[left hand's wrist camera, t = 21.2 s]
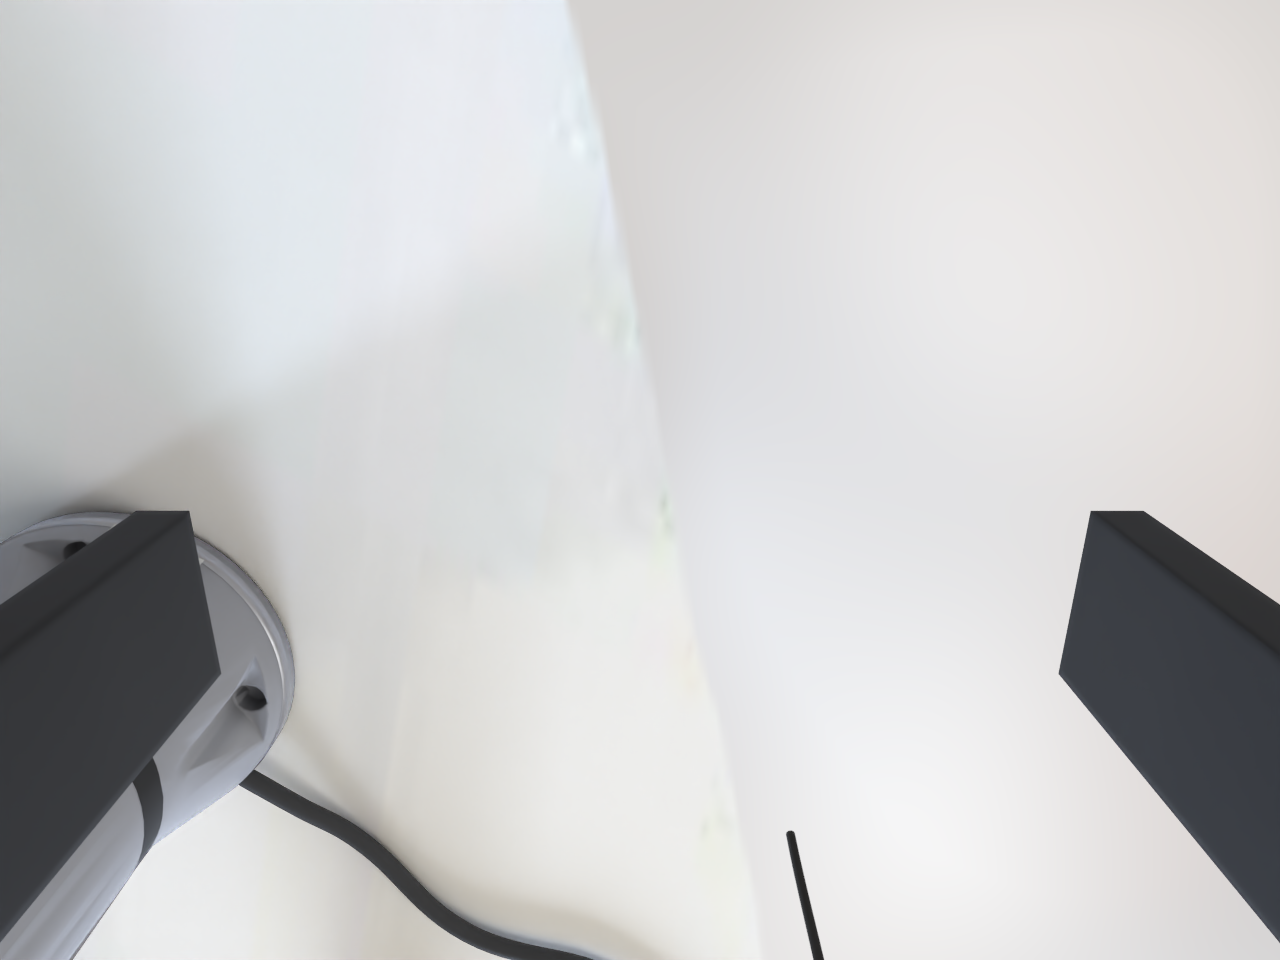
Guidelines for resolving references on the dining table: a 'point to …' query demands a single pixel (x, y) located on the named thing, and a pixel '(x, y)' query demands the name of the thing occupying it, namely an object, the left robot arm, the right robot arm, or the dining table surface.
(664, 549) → the dining table surface
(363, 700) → the dining table surface
